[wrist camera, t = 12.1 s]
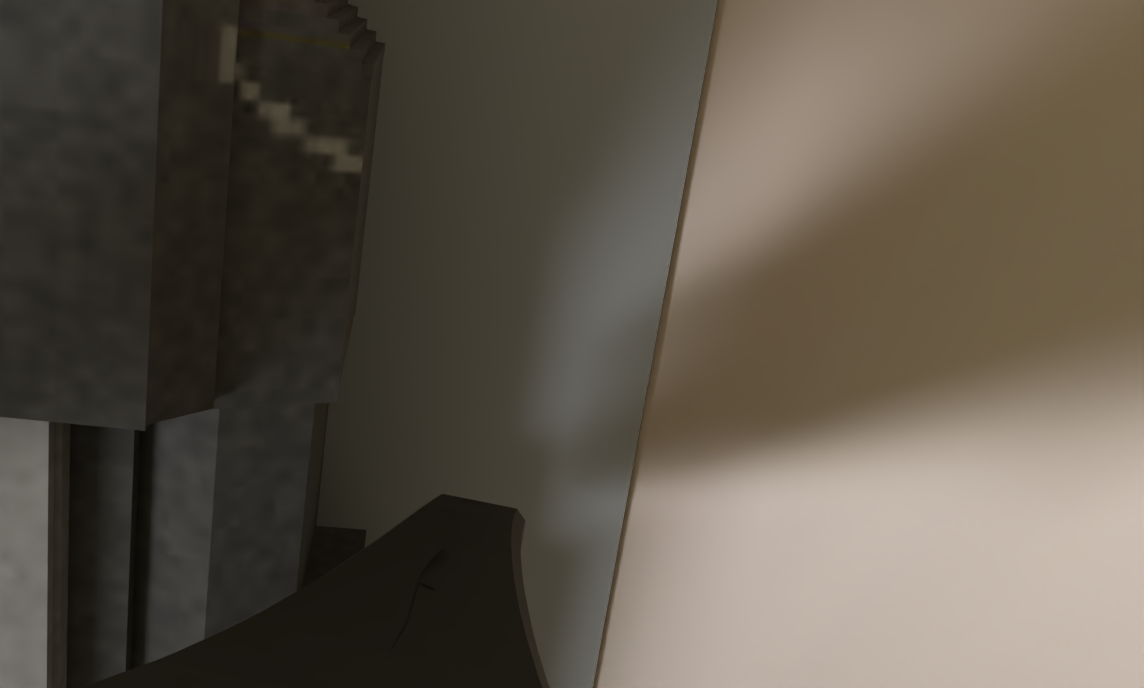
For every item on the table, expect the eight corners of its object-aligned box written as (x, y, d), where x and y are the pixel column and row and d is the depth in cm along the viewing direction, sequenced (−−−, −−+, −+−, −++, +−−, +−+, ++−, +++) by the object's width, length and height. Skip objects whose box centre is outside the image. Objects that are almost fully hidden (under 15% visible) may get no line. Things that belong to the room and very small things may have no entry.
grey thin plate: (498, 1206, 17) (497, 1209, 17) (-71, 1077, 18) (-73, 1081, 18) (837, -661, 9) (839, -666, 9) (-195, -781, 10) (-201, -786, 10)
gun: (462, 1071, 18) (-175, 1010, 16) (941, -114, 12) (37, -485, 10) (473, 1410, 14) (-396, 1393, 11) (1213, -154, 8) (-254, -820, 6)
